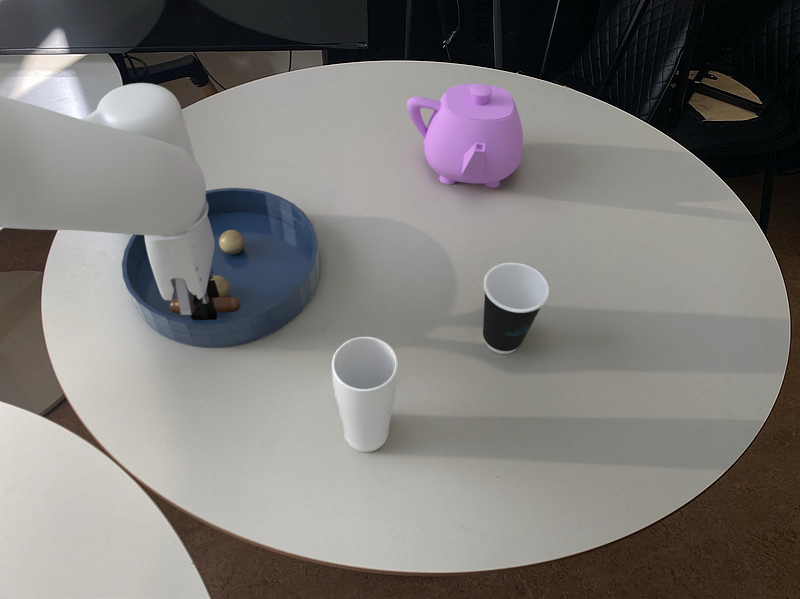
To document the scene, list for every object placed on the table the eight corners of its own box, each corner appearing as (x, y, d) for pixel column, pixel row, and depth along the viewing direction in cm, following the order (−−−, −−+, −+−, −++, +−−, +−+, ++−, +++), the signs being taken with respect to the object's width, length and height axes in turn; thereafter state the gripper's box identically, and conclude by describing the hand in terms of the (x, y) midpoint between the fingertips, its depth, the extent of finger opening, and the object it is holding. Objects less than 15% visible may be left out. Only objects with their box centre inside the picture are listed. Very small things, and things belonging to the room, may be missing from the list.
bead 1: (229, 308, 82) (224, 290, 79) (203, 306, 82) (197, 289, 79) (235, 288, 84) (230, 270, 81) (209, 286, 84) (204, 269, 81)
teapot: (398, 207, 97) (401, 127, 86) (407, 135, 110) (411, 57, 98) (520, 217, 96) (540, 138, 85) (515, 143, 109) (531, 65, 98)
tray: (305, 353, 78) (301, 330, 74) (105, 341, 78) (91, 318, 75) (330, 217, 95) (328, 192, 91) (165, 207, 95) (156, 183, 91)
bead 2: (243, 260, 88) (239, 242, 85) (219, 259, 88) (214, 241, 85) (248, 243, 90) (244, 225, 87) (224, 241, 90) (220, 223, 87)
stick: (241, 315, 78) (238, 305, 76) (170, 316, 77) (165, 307, 76) (242, 303, 79) (240, 293, 77) (173, 304, 78) (168, 294, 77)
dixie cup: (515, 374, 77) (532, 321, 69) (461, 345, 80) (471, 292, 71) (540, 333, 82) (560, 279, 73) (489, 307, 84) (501, 252, 76)
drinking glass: (402, 417, 73) (407, 345, 61) (384, 467, 68) (386, 400, 57) (349, 401, 74) (345, 327, 62) (329, 449, 70) (320, 380, 58)
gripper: (149, 156, 69) (187, 266, 83) (115, 256, 59) (165, 361, 73) (215, 155, 69) (242, 265, 83) (193, 254, 59) (228, 360, 73)
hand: (206, 309), depth 78 cm, fingers closed on stick, 2 cm apart
